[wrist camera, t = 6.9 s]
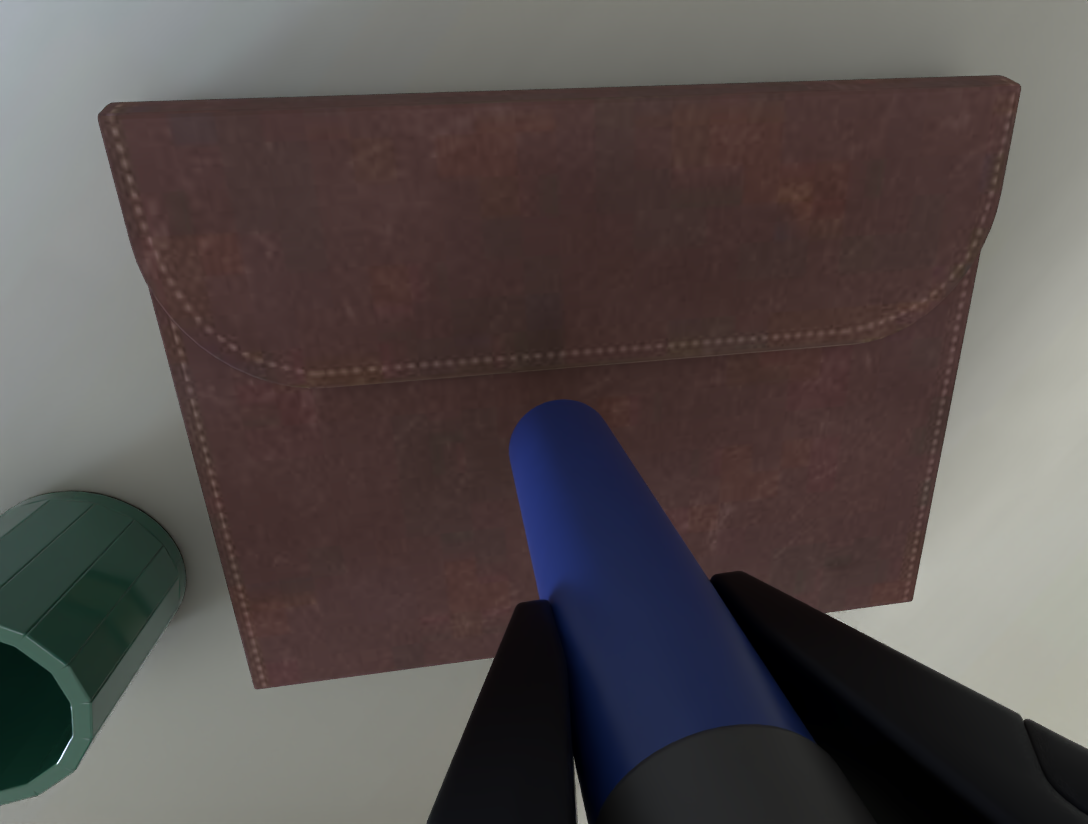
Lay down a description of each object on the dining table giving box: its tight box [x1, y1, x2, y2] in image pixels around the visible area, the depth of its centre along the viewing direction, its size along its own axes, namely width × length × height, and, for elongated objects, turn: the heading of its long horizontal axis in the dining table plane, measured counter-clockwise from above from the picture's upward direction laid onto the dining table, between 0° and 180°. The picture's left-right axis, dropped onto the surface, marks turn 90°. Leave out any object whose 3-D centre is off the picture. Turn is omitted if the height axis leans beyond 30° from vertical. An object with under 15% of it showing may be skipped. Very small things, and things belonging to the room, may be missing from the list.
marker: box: [509, 399, 877, 824], centre depth 8 cm, size 2×2×11 cm
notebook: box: [98, 75, 1021, 689], centre depth 16 cm, size 15×20×2 cm
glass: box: [0, 491, 186, 806], centre depth 15 cm, size 5×5×5 cm
